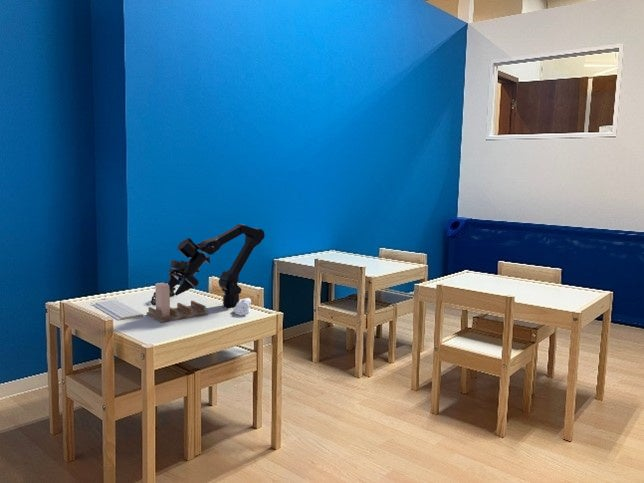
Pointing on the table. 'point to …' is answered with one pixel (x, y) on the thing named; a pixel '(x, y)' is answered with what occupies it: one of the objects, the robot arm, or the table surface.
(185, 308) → the drying rack
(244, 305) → the baby figurine
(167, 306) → the pinkish tan block
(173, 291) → the decorative element
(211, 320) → the table surface
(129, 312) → the baseboard molding
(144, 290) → the table surface
